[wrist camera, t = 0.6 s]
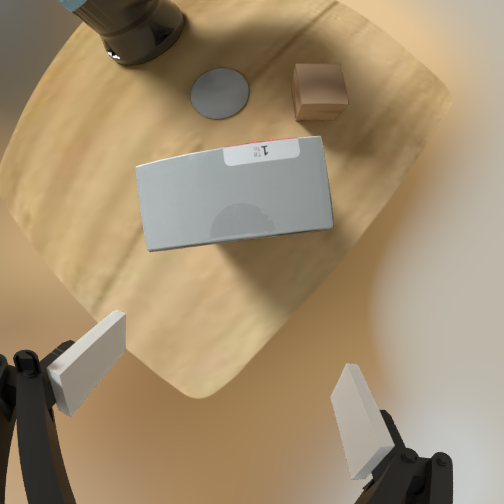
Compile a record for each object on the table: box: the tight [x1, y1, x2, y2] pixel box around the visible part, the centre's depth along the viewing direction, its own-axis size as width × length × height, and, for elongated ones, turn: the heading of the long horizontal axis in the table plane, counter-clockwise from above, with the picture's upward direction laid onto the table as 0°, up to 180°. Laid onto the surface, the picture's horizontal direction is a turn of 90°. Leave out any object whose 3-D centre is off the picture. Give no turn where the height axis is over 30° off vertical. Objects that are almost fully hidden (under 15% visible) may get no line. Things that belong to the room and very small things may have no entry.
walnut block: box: [291, 64, 349, 121], centre depth 33 cm, size 6×6×8 cm
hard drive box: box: [136, 136, 334, 252], centre depth 30 cm, size 16×8×20 cm, turn 98°
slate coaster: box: [191, 68, 249, 119], centre depth 37 cm, size 9×9×1 cm
